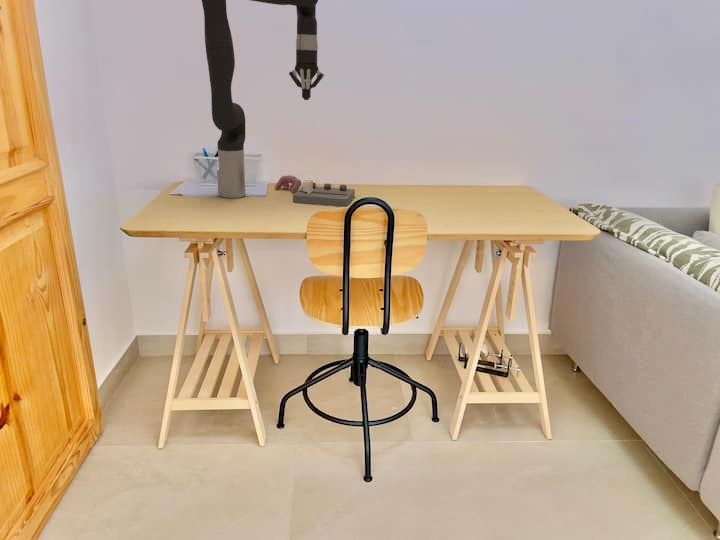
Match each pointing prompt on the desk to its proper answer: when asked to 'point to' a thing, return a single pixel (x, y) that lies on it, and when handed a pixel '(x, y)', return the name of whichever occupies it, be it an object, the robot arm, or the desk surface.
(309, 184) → the fader knob
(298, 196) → the console
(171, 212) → the desk surface
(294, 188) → the maroon arched lump
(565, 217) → the desk surface
